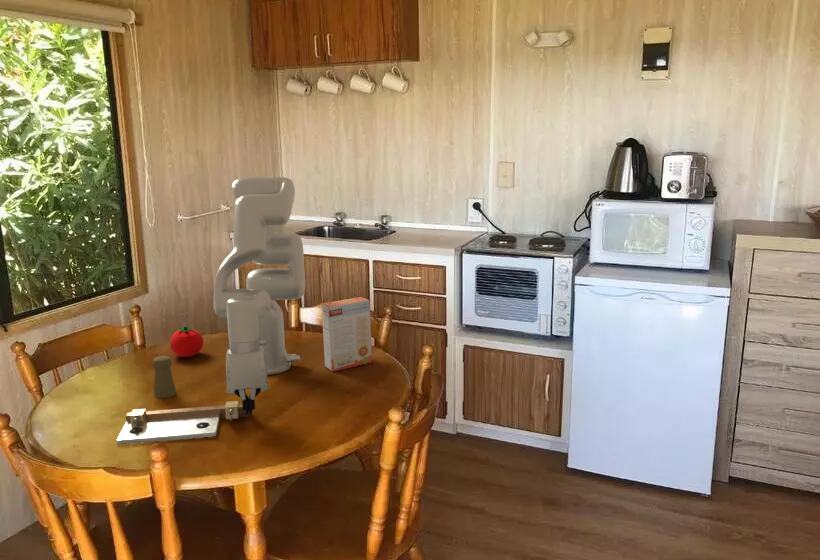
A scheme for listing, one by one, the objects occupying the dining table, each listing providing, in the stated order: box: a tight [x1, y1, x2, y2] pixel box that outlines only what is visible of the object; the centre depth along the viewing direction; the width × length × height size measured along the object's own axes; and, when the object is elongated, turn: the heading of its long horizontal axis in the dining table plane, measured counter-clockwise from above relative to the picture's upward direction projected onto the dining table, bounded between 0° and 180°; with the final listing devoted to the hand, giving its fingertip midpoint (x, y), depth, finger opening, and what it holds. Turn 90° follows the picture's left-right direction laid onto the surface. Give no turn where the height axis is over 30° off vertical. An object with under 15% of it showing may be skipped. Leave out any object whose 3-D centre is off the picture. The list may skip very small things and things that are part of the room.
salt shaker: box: [151, 355, 177, 399], centre depth 193 cm, size 6×6×11 cm
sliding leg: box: [225, 400, 240, 421], centre depth 175 cm, size 3×6×3 cm, turn 10°
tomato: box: [169, 324, 204, 358], centre depth 223 cm, size 10×10×10 cm
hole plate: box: [116, 403, 251, 446], centre depth 173 cm, size 30×14×4 cm, turn 100°
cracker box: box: [321, 296, 372, 373], centre depth 212 cm, size 14×6×21 cm, turn 121°
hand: (249, 412), depth 177 cm, fingers closed
